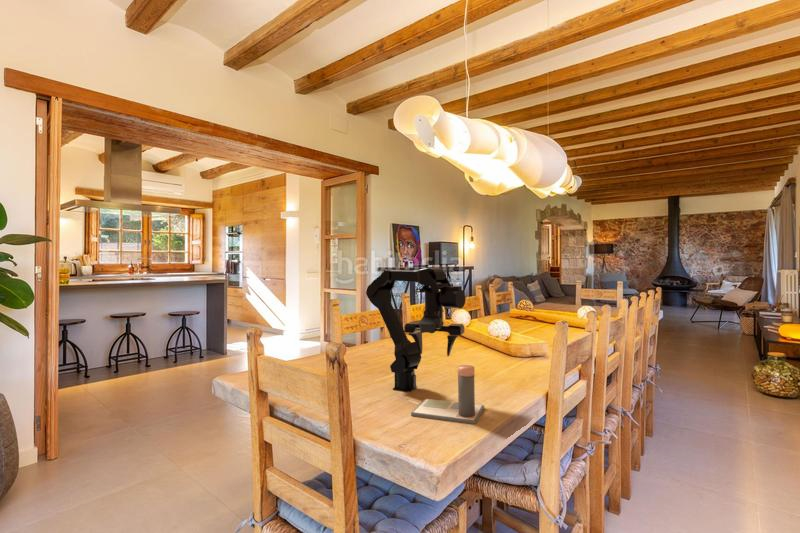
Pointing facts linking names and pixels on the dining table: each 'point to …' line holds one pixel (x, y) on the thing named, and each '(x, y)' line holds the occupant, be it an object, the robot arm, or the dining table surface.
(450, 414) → the picture board
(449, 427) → the dining table surface
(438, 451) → the dining table surface
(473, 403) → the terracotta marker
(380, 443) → the dining table surface
